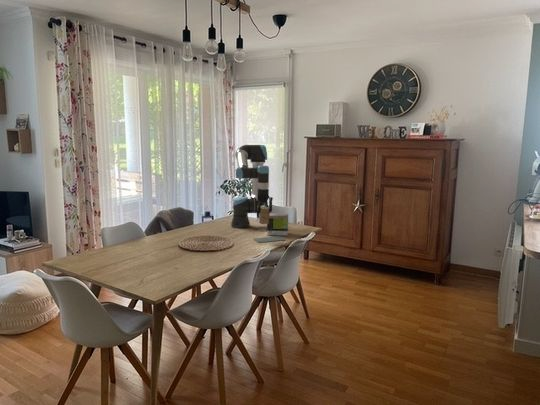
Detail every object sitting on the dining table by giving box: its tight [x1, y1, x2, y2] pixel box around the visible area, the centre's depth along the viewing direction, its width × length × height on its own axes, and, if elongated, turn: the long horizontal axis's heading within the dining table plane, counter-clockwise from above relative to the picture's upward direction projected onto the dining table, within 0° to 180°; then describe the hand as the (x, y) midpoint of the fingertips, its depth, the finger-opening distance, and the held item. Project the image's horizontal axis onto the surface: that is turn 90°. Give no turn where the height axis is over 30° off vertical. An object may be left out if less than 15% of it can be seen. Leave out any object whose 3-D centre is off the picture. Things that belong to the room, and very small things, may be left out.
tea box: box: [266, 213, 289, 236], centre depth 292 cm, size 15×10×15 cm, turn 84°
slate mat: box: [253, 235, 286, 244], centre depth 276 cm, size 10×20×1 cm, turn 112°
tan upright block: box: [256, 206, 270, 225], centre depth 271 cm, size 9×5×11 cm, turn 22°
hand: (262, 222), depth 272 cm, fingers closed on tan upright block, 5 cm apart
